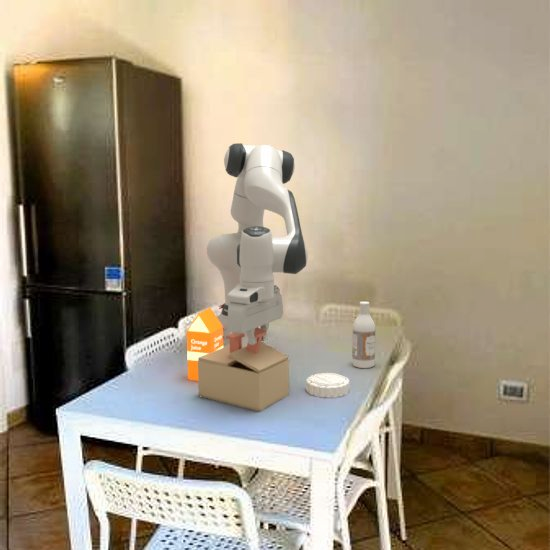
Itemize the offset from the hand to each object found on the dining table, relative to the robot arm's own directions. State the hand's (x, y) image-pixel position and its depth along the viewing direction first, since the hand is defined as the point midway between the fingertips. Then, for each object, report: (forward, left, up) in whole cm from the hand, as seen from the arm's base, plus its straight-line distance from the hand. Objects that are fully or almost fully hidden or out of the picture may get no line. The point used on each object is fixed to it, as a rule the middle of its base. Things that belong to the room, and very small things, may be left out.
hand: (257, 342), depth 160 cm
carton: (-5, 0, -16) cm, 16 cm away
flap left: (-10, 0, -6) cm, 11 cm away
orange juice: (-24, +7, -16) cm, 29 cm away
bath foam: (+11, +41, -16) cm, 45 cm away
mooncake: (+12, +16, -16) cm, 26 cm away
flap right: (+1, 0, -4) cm, 4 cm away
